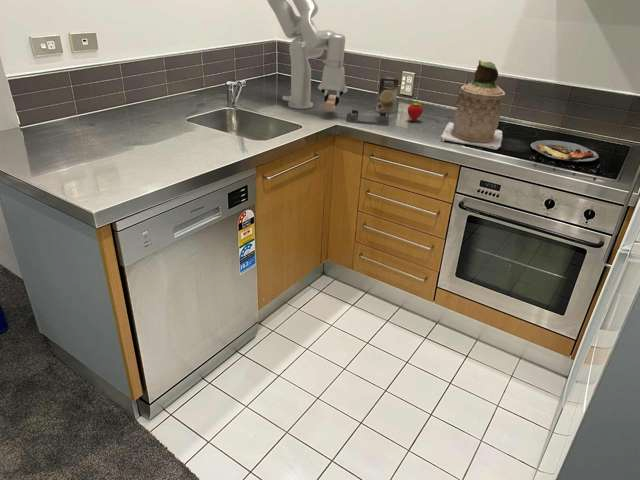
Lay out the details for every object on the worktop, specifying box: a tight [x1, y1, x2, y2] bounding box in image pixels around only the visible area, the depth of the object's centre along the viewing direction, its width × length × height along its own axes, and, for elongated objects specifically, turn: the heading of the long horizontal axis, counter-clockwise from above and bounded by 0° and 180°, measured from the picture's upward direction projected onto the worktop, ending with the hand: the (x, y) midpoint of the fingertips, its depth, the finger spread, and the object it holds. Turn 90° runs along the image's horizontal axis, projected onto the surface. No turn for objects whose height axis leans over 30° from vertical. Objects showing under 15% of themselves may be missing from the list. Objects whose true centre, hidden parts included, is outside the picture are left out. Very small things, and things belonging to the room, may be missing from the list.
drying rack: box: [345, 109, 390, 127], centre depth 224 cm, size 19×10×4 cm, turn 80°
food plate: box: [530, 139, 600, 163], centre depth 195 cm, size 25×23×4 cm
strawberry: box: [407, 99, 424, 122], centre depth 225 cm, size 6×8×10 cm
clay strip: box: [324, 94, 337, 111], centre depth 227 cm, size 4×14×3 cm, turn 170°
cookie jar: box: [440, 59, 506, 151], centre depth 202 cm, size 25×25×32 cm
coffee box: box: [375, 75, 400, 114], centre depth 237 cm, size 9×6×16 cm
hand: (331, 104), depth 227 cm, fingers closed on clay strip, 4 cm apart
